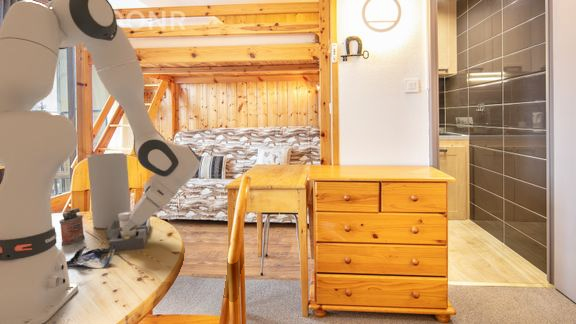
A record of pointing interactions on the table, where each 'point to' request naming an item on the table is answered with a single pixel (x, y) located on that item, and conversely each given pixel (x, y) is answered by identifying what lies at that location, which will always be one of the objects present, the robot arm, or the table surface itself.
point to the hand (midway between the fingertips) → (125, 227)
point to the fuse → (123, 220)
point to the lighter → (71, 227)
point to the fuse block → (128, 241)
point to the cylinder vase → (108, 187)
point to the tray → (116, 227)
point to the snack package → (92, 257)
